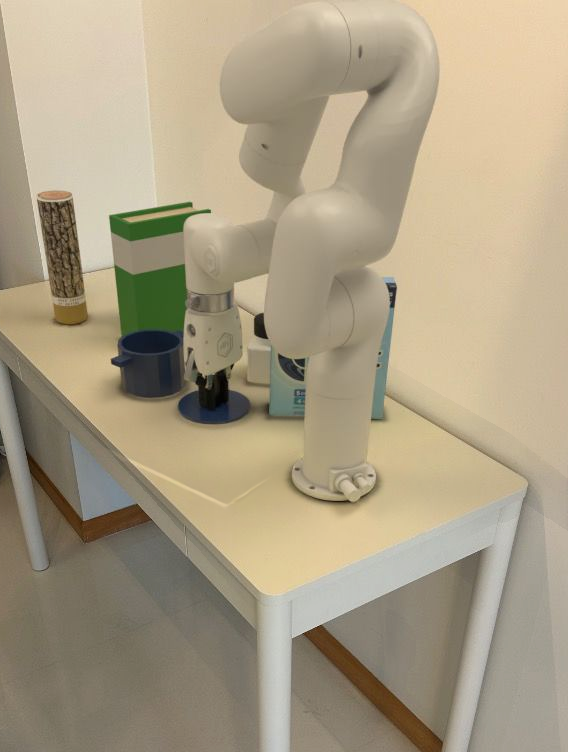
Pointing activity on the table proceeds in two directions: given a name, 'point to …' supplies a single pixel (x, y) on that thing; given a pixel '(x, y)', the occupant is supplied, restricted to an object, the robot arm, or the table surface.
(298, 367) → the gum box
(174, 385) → the pot
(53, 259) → the paper tube
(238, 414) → the lid
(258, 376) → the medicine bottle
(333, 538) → the table surface
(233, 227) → the robot arm
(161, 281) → the hardback book
